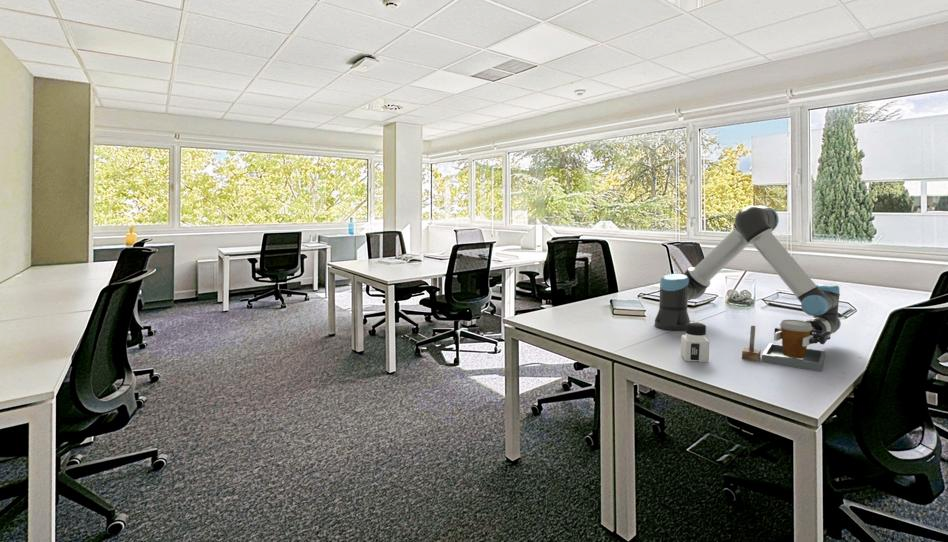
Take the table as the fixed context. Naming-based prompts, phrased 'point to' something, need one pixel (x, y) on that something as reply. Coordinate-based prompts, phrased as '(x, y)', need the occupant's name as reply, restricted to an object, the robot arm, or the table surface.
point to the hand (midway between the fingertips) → (789, 339)
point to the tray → (810, 360)
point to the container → (695, 343)
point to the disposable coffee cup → (794, 337)
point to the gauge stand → (751, 348)
